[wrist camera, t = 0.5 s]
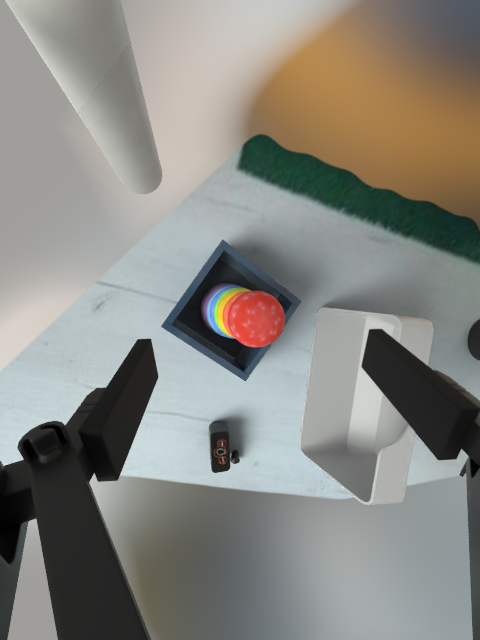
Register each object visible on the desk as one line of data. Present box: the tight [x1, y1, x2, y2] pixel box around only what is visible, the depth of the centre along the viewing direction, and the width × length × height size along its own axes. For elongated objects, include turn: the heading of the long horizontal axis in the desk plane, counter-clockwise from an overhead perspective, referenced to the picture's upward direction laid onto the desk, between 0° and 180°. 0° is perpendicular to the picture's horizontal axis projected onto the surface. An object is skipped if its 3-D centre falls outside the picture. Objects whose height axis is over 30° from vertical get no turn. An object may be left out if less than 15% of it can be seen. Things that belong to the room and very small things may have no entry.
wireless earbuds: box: [209, 422, 240, 473], centre depth 39 cm, size 5×7×3 cm, turn 2°
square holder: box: [161, 240, 301, 381], centre depth 35 cm, size 13×13×7 cm
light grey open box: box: [299, 307, 434, 505], centre depth 38 cm, size 25×16×12 cm, turn 174°
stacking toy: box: [201, 283, 285, 347], centre depth 29 cm, size 8×8×19 cm
